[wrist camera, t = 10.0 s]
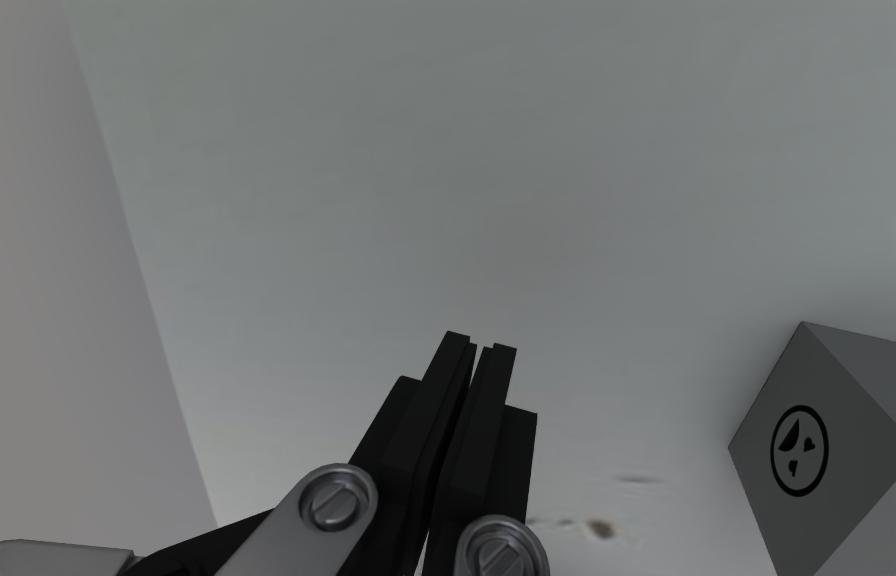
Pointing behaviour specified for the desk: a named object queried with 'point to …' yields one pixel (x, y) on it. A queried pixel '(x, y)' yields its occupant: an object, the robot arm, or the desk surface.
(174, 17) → the desk surface
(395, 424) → the robot arm
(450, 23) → the desk surface
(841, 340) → the dice cube
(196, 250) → the desk surface
